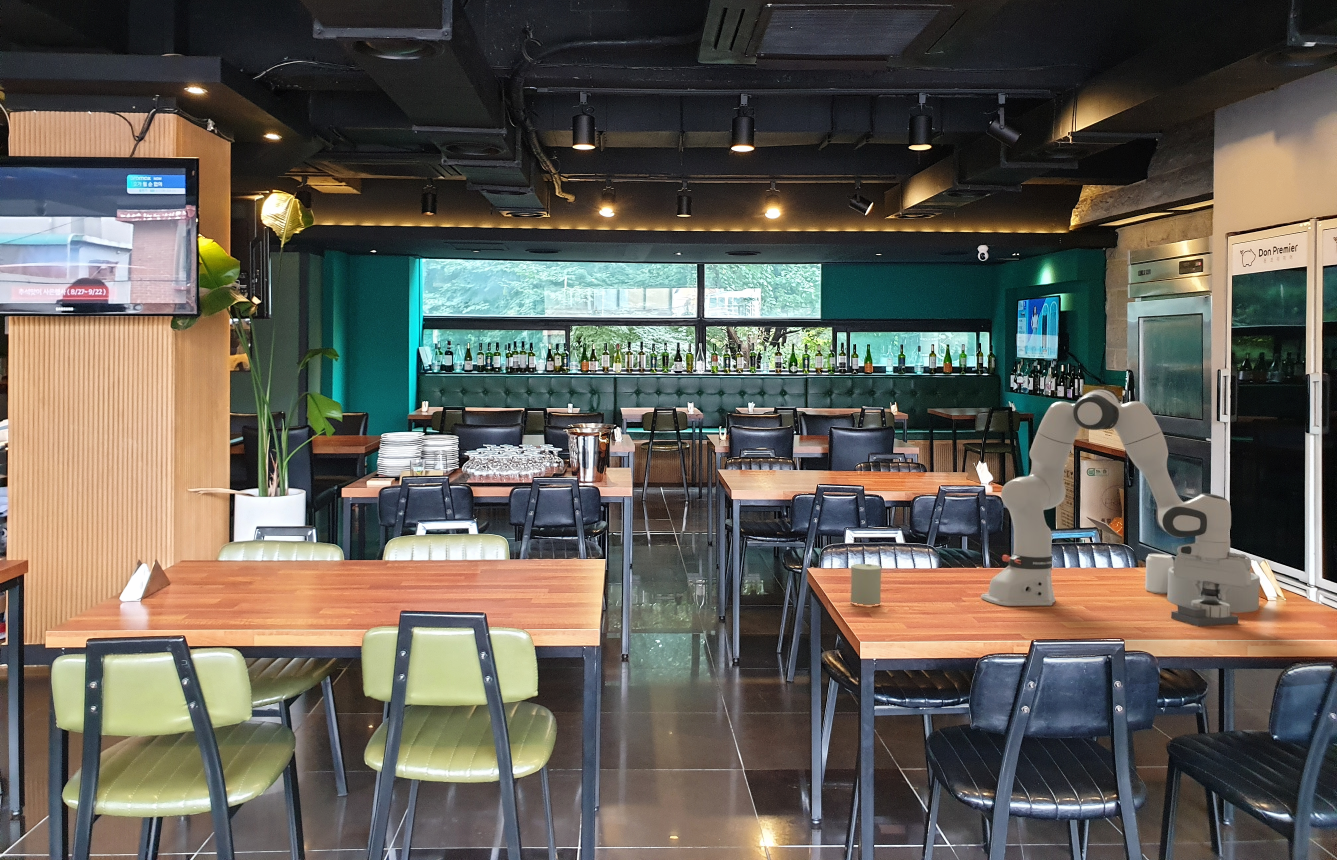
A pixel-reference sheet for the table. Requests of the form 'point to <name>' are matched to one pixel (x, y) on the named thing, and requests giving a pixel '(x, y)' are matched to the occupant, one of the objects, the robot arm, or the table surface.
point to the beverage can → (1158, 572)
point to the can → (866, 584)
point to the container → (1236, 597)
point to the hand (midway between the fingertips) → (1210, 597)
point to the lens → (1210, 593)
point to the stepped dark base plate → (1204, 614)
